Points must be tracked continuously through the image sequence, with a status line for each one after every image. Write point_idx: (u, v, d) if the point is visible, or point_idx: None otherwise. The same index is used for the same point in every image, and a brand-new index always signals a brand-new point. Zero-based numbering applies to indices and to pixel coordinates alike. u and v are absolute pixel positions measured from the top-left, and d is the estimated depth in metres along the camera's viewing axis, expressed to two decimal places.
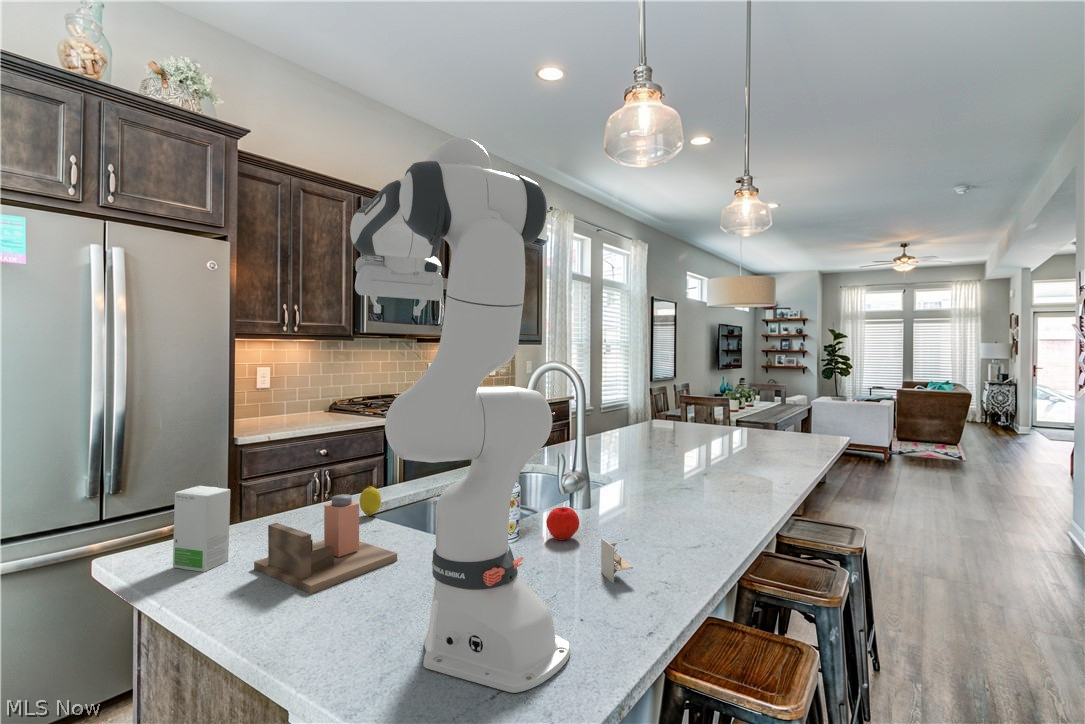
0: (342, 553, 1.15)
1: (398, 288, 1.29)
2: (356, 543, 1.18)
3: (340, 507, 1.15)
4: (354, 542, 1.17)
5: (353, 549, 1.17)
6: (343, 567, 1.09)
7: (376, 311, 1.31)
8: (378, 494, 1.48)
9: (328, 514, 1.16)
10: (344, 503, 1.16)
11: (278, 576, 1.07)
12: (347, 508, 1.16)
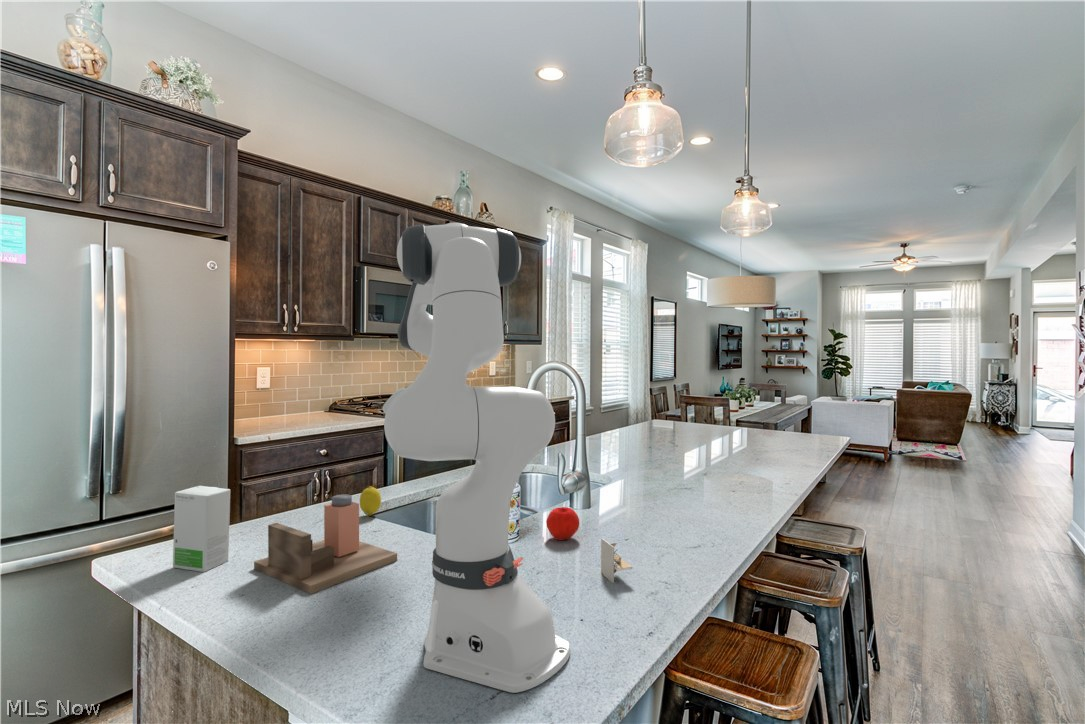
0: (342, 553, 1.15)
1: None
2: (356, 543, 1.18)
3: (340, 507, 1.15)
4: (354, 542, 1.17)
5: (353, 549, 1.17)
6: (343, 567, 1.09)
7: None
8: (378, 494, 1.48)
9: (328, 514, 1.16)
10: (344, 503, 1.16)
11: (278, 576, 1.07)
12: (347, 508, 1.16)
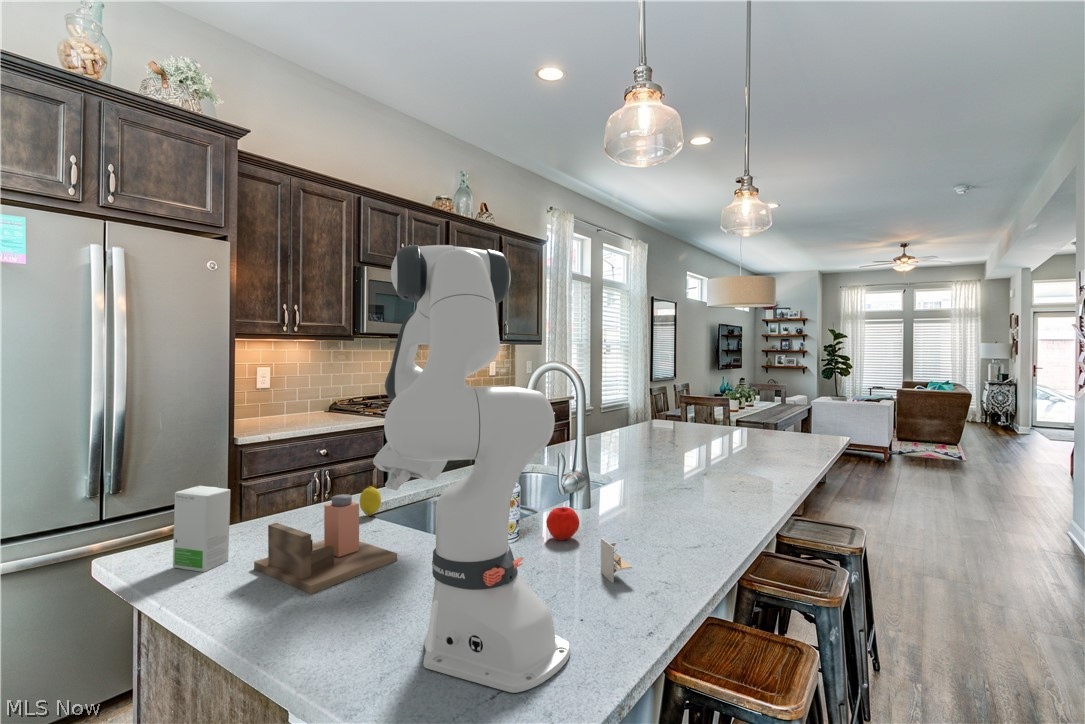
0: (342, 553, 1.15)
1: (401, 458, 1.31)
2: (356, 543, 1.18)
3: (340, 507, 1.15)
4: (354, 542, 1.17)
5: (353, 549, 1.17)
6: (343, 567, 1.09)
7: (387, 483, 1.28)
8: (378, 494, 1.48)
9: (328, 514, 1.16)
10: (344, 503, 1.16)
11: (278, 576, 1.07)
12: (347, 508, 1.16)
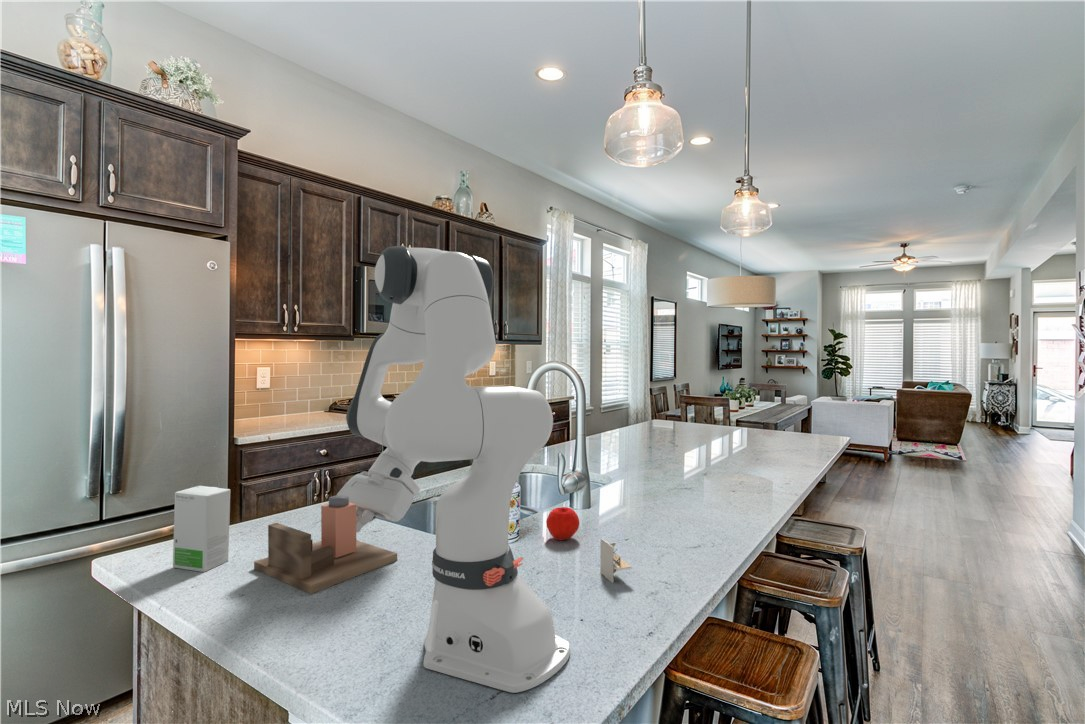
0: (339, 554, 1.14)
1: (364, 496, 1.23)
2: (353, 544, 1.17)
3: (337, 508, 1.14)
4: (351, 543, 1.17)
5: (350, 550, 1.17)
6: (343, 567, 1.09)
7: None
8: None
9: (325, 515, 1.15)
10: (341, 504, 1.15)
11: (278, 576, 1.07)
12: (344, 509, 1.15)
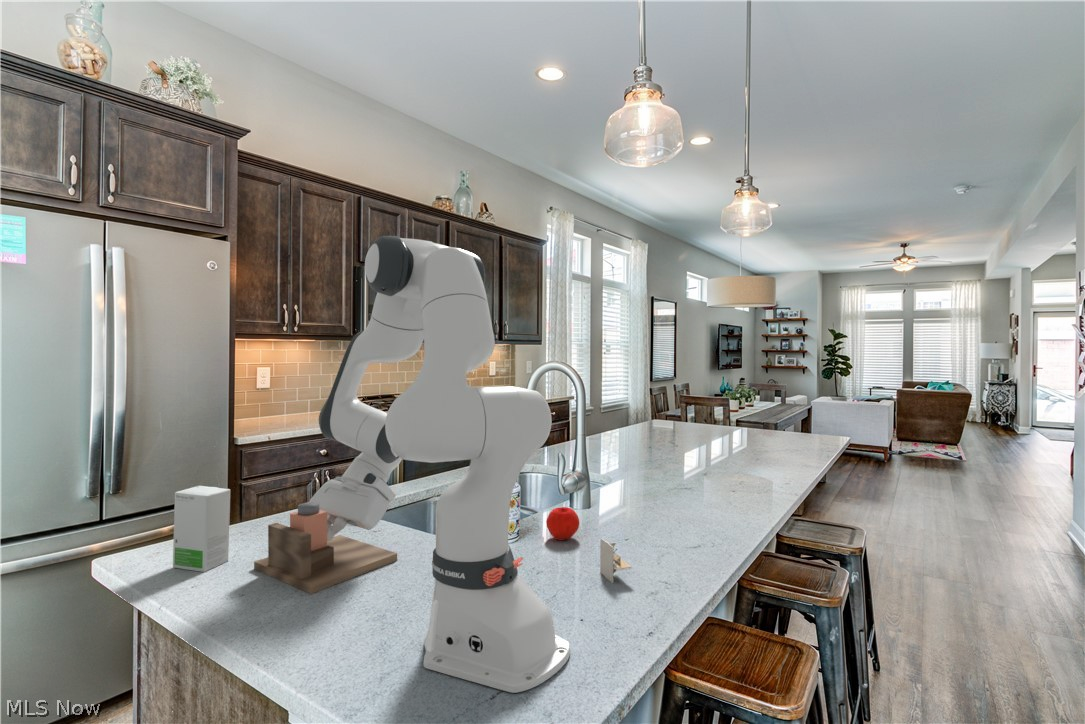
0: None
1: (336, 503, 1.17)
2: None
3: (306, 516, 1.09)
4: None
5: None
6: (343, 567, 1.09)
7: None
8: None
9: (294, 523, 1.10)
10: (311, 512, 1.10)
11: (278, 576, 1.07)
12: (313, 517, 1.09)
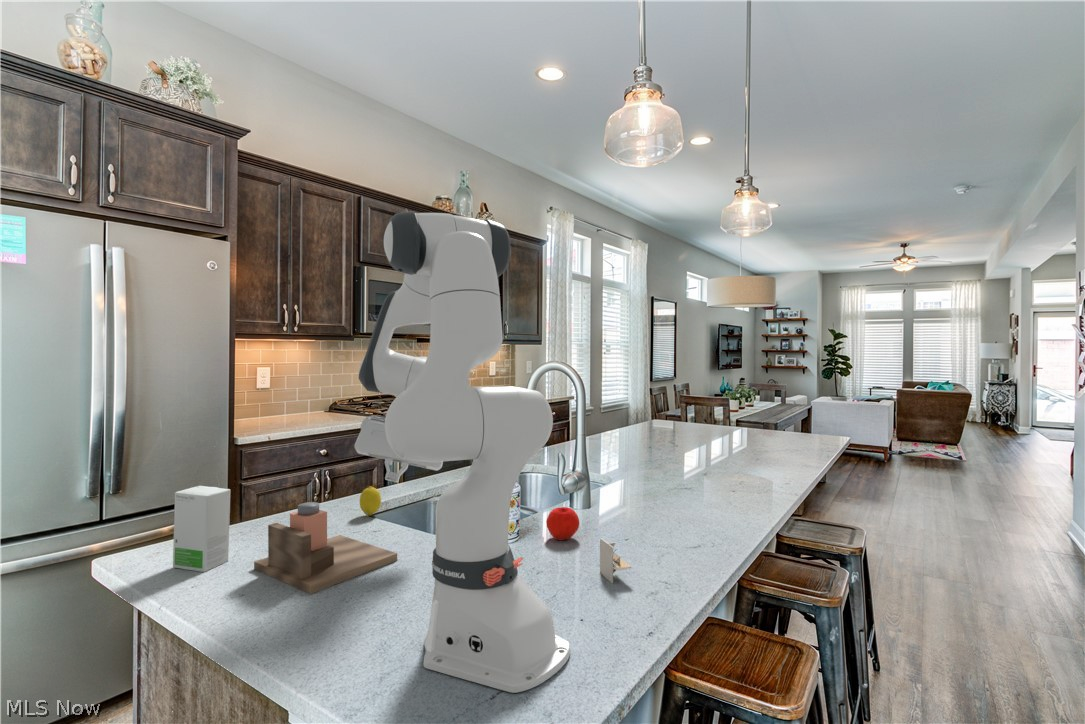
0: None
1: None
2: None
3: (306, 516, 1.09)
4: None
5: None
6: (343, 567, 1.09)
7: (387, 476, 1.24)
8: (378, 494, 1.48)
9: (294, 523, 1.10)
10: (310, 512, 1.10)
11: (278, 576, 1.07)
12: (313, 517, 1.09)
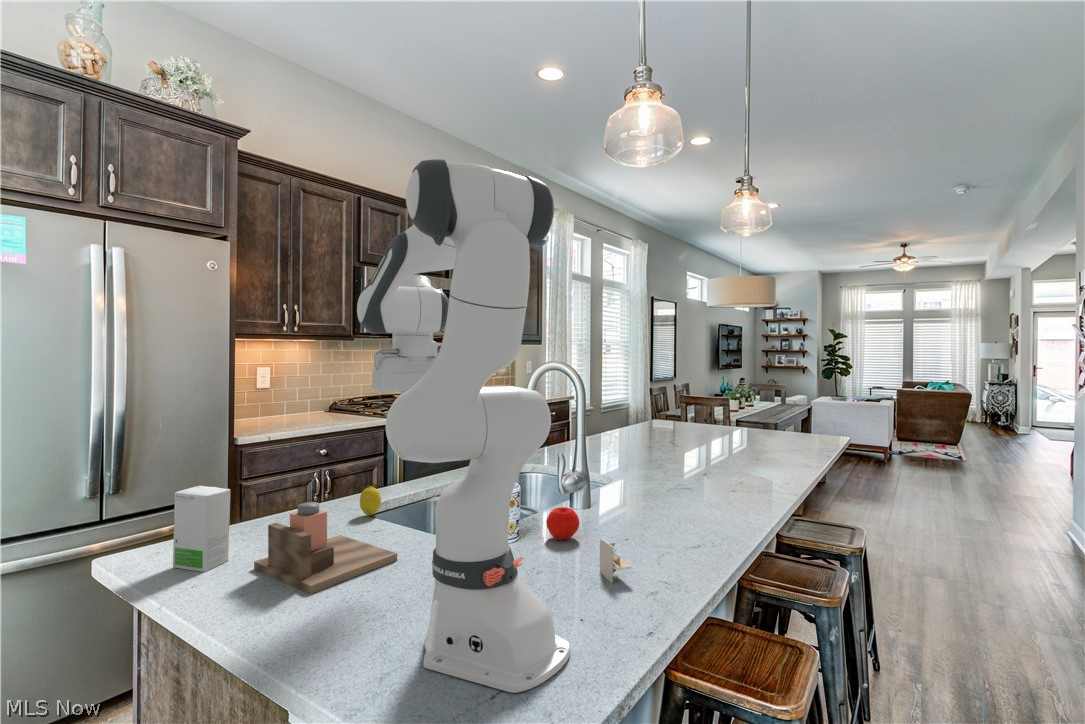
0: None
1: (415, 379, 1.22)
2: None
3: (306, 516, 1.09)
4: None
5: None
6: (343, 567, 1.09)
7: None
8: (378, 494, 1.48)
9: (294, 523, 1.10)
10: (310, 512, 1.10)
11: (278, 576, 1.07)
12: (313, 517, 1.09)
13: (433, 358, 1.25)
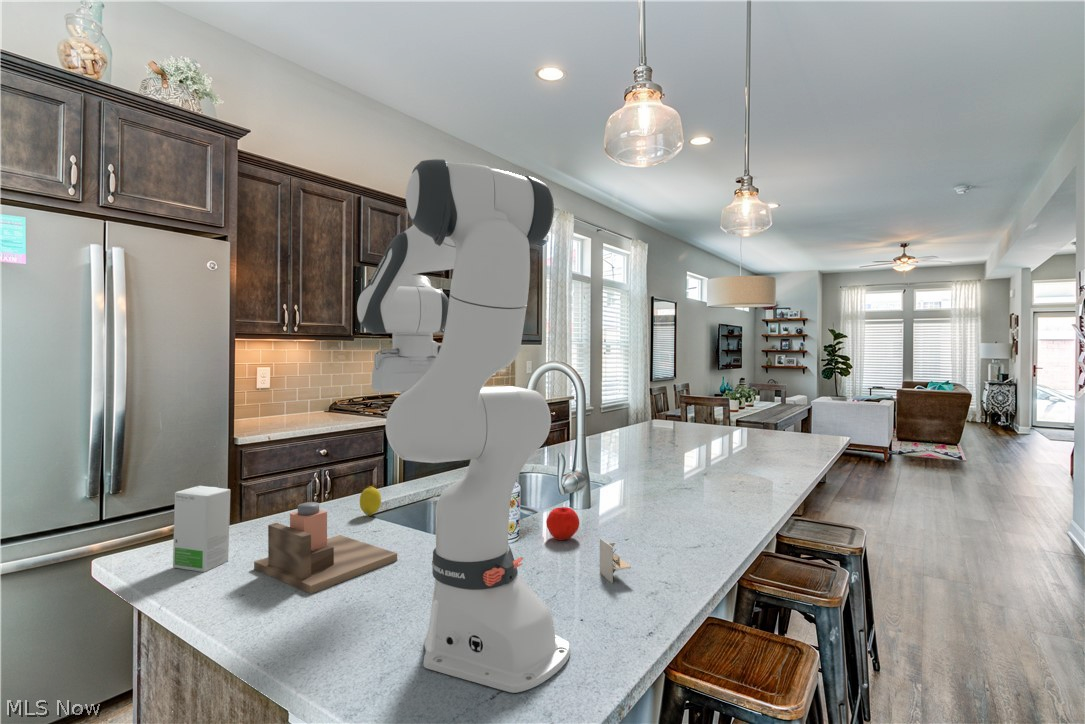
0: None
1: (415, 379, 1.22)
2: None
3: (306, 516, 1.09)
4: None
5: None
6: (343, 567, 1.09)
7: None
8: (378, 494, 1.48)
9: (294, 523, 1.10)
10: (310, 512, 1.10)
11: (278, 576, 1.07)
12: (313, 517, 1.09)
13: (433, 358, 1.25)
